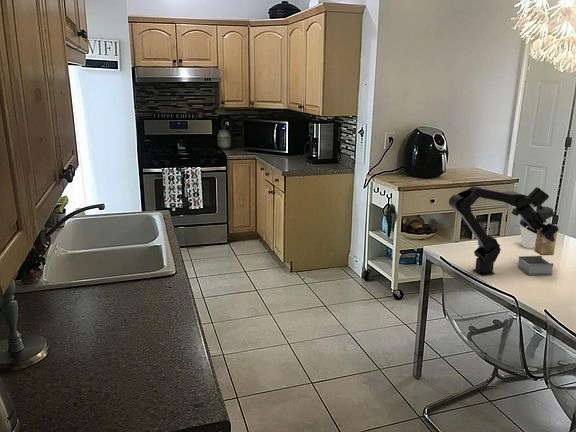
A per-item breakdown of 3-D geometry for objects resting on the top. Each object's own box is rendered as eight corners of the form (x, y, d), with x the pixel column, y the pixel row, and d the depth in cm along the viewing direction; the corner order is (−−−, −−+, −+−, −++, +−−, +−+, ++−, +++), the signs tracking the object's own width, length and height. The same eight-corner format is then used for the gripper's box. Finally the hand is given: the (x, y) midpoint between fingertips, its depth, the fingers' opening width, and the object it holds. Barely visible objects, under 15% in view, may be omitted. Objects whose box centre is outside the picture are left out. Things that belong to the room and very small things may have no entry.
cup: (543, 249, 233) (546, 228, 230) (522, 249, 233) (525, 228, 230) (533, 243, 243) (536, 222, 240) (514, 243, 243) (516, 222, 240)
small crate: (540, 255, 206) (544, 228, 203) (533, 251, 211) (537, 224, 208) (553, 255, 206) (558, 228, 203) (546, 251, 211) (550, 224, 208)
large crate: (528, 275, 203) (530, 264, 201) (517, 267, 212) (518, 256, 211) (551, 275, 203) (553, 264, 201) (539, 266, 212) (541, 255, 211)
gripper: (558, 206, 193) (578, 232, 197) (529, 196, 211) (549, 219, 215) (537, 226, 194) (557, 250, 198) (510, 214, 212) (530, 237, 216)
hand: (549, 238), depth 207 cm, fingers closed on small crate, 6 cm apart
